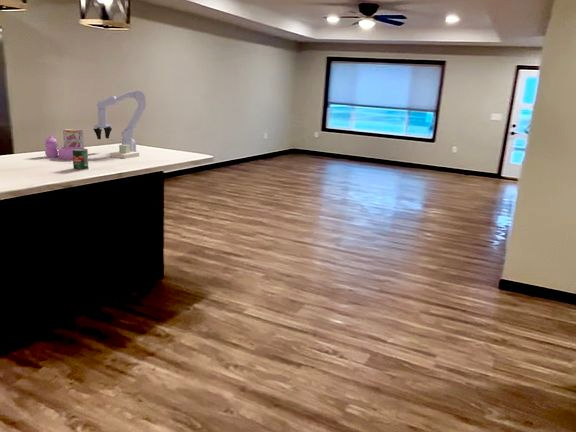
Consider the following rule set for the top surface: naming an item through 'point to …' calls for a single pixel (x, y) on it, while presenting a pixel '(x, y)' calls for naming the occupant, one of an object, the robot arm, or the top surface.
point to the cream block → (124, 154)
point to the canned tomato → (80, 159)
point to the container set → (64, 152)
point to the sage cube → (124, 148)
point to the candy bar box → (73, 138)
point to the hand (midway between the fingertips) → (103, 138)
